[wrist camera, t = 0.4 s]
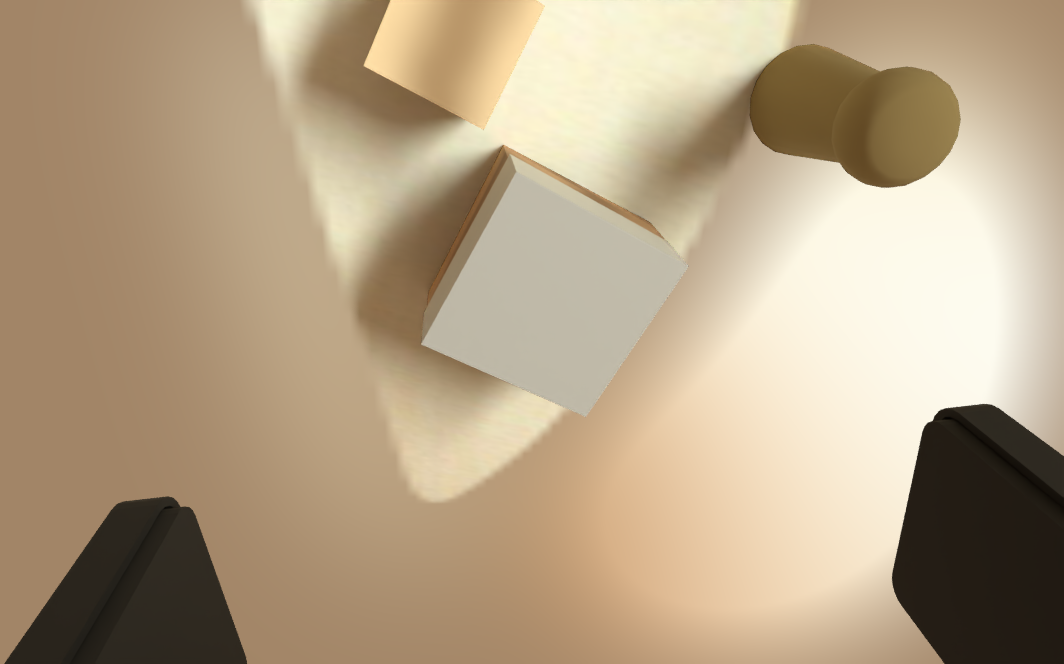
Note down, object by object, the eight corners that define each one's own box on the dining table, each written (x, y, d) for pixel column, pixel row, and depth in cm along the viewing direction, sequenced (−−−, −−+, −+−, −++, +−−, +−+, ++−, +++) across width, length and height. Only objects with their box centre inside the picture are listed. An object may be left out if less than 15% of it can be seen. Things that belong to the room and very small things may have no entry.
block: (377, 55, 36) (363, 65, 30) (425, -60, 34) (419, -71, 28) (479, 111, 38) (483, 129, 32) (531, 4, 36) (544, 5, 30)
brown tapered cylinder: (740, 152, 40) (833, 202, 30) (761, 40, 37) (871, 55, 28) (837, 156, 41) (959, 207, 31) (864, 47, 38) (1007, 64, 28)
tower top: (423, 312, 38) (421, 344, 35) (509, 154, 35) (516, 171, 31) (574, 380, 41) (585, 416, 38) (666, 240, 38) (689, 265, 34)
